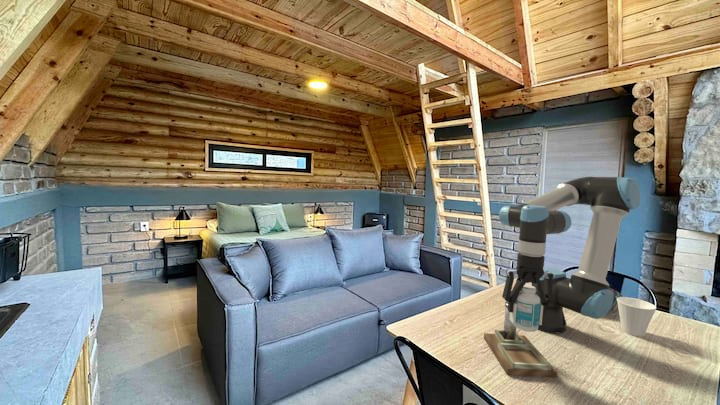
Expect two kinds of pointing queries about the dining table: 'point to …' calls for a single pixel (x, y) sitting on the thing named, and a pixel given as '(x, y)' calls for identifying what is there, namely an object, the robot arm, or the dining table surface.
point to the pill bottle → (527, 309)
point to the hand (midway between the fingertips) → (525, 322)
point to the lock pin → (508, 326)
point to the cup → (635, 315)
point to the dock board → (519, 356)
